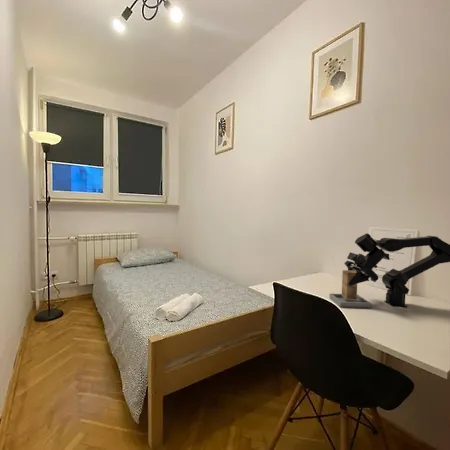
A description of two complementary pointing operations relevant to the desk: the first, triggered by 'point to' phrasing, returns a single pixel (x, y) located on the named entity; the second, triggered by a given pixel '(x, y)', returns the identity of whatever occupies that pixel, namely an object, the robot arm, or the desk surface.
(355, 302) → the tray
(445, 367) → the desk surface
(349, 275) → the block
